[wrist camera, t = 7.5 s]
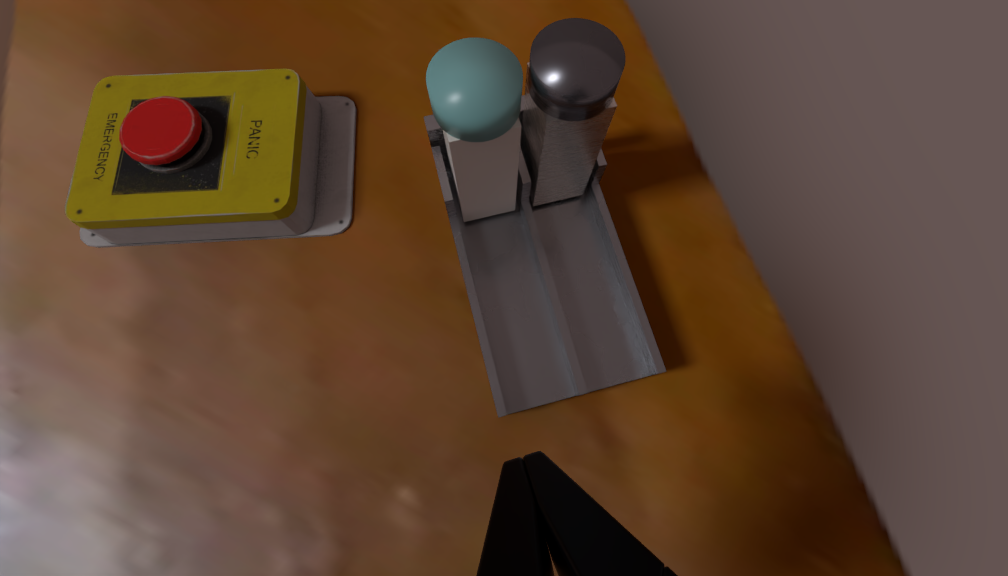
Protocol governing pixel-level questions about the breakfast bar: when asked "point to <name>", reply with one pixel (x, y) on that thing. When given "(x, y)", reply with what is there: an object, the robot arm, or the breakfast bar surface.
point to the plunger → (479, 121)
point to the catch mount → (555, 237)
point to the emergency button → (212, 160)
